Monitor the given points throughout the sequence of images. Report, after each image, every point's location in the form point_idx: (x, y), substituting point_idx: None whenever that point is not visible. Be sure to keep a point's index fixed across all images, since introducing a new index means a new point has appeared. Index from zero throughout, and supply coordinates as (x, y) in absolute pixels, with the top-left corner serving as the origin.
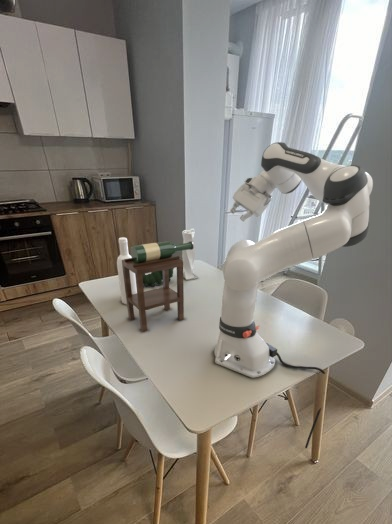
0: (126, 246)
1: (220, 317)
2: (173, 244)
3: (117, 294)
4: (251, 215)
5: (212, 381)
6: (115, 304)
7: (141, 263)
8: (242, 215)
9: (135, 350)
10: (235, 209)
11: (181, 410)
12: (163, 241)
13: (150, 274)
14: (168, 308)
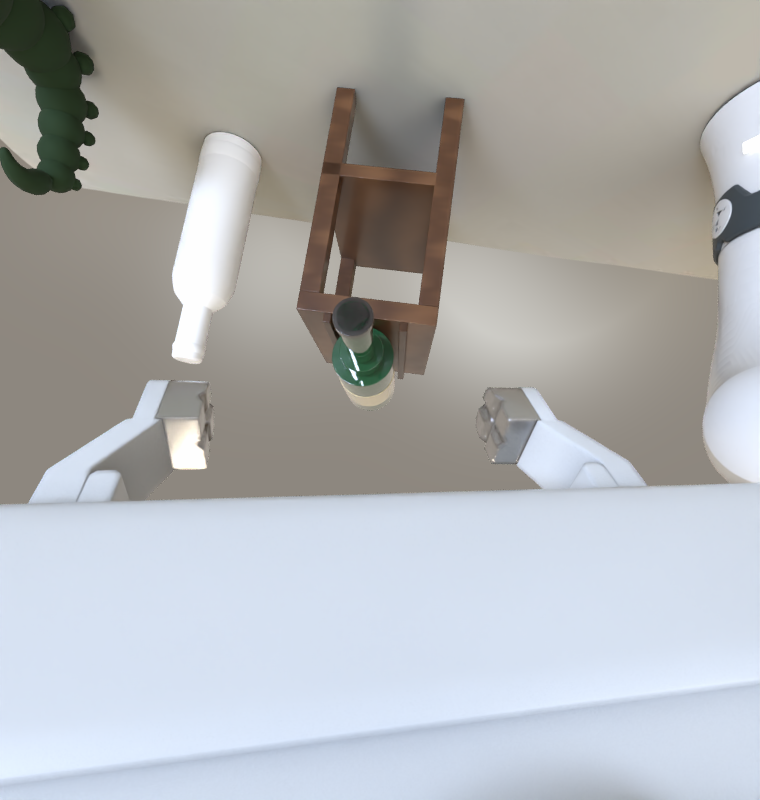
0: (202, 335)
1: (715, 260)
2: (369, 371)
3: (161, 153)
4: (635, 476)
5: None
6: None
7: (402, 373)
8: (500, 457)
9: (503, 246)
10: (154, 431)
11: (712, 276)
12: (352, 388)
13: (32, 63)
14: (354, 99)
